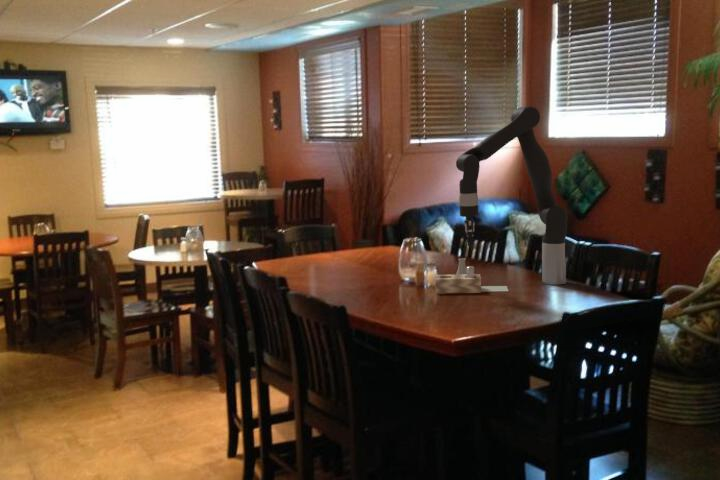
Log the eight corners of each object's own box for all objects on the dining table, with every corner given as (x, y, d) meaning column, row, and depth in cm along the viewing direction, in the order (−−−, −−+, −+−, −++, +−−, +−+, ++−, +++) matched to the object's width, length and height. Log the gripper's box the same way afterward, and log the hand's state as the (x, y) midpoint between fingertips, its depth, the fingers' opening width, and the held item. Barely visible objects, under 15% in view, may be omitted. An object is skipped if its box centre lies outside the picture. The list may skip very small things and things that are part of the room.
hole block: (480, 288, 297) (479, 274, 296) (481, 293, 288) (481, 278, 287) (436, 288, 300) (436, 274, 299) (436, 294, 290) (435, 279, 289)
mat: (506, 286, 298) (506, 285, 298) (508, 292, 288) (508, 291, 288) (477, 287, 299) (477, 286, 299) (478, 292, 290) (478, 291, 290)
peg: (474, 290, 294) (473, 266, 293) (474, 291, 291) (474, 267, 290) (466, 290, 295) (466, 266, 293) (467, 291, 292) (466, 267, 290)
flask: (470, 283, 309) (470, 260, 307) (453, 283, 310) (453, 260, 309) (471, 279, 316) (470, 257, 314) (454, 279, 317) (454, 257, 316)
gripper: (479, 205, 280) (480, 246, 283) (477, 202, 294) (478, 241, 297) (459, 206, 281) (461, 247, 284) (459, 202, 295) (460, 241, 298)
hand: (470, 244), depth 290 cm, fingers open, 8 cm apart
